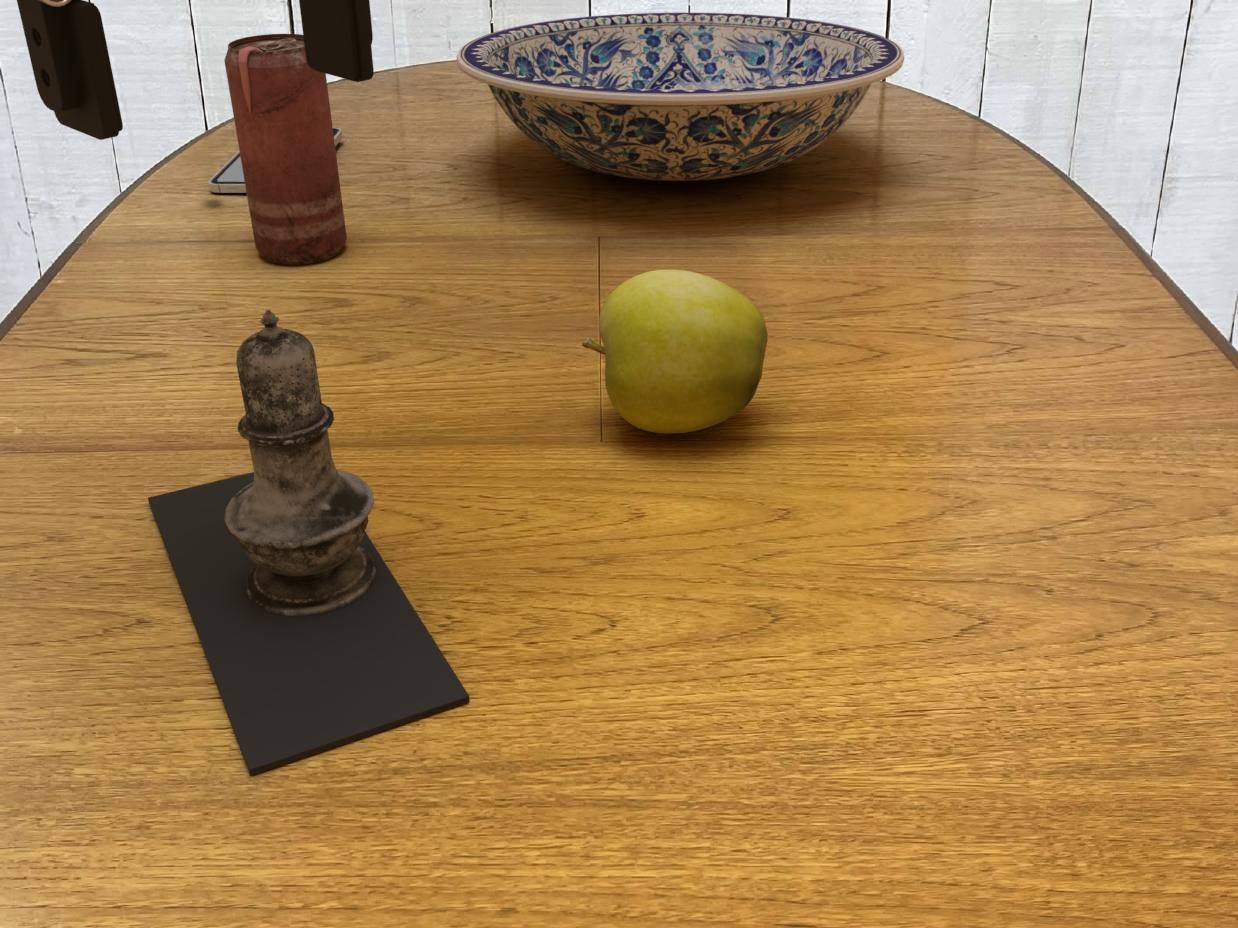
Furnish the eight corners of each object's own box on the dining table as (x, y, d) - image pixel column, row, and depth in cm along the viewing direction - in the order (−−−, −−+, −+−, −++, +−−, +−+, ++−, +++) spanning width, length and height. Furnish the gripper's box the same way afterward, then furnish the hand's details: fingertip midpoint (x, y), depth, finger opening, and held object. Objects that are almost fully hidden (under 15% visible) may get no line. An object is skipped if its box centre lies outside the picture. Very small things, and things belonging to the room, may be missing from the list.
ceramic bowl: (858, 111, 116) (868, -3, 111) (930, 240, 87) (948, 93, 82) (489, 113, 117) (482, 0, 112) (436, 242, 88) (423, 97, 82)
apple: (585, 390, 67) (581, 249, 63) (755, 389, 67) (762, 247, 63) (581, 463, 61) (576, 310, 57) (769, 462, 61) (778, 308, 57)
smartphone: (203, 184, 97) (261, 127, 110) (206, 196, 97) (263, 138, 110) (297, 184, 96) (344, 127, 109) (299, 196, 97) (346, 138, 110)
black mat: (250, 776, 43) (248, 769, 42) (148, 502, 58) (147, 497, 58) (470, 702, 46) (469, 695, 46) (318, 461, 61) (317, 455, 61)
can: (239, 264, 84) (201, 49, 77) (282, 232, 90) (251, 29, 83) (322, 271, 83) (291, 53, 76) (361, 238, 88) (336, 32, 81)
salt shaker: (231, 554, 54) (179, 293, 48) (368, 527, 55) (334, 271, 49) (247, 634, 49) (191, 354, 43) (396, 601, 51) (362, 327, 45)
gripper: (308, -490, 42) (361, 42, 50) (-282, -567, 31) (-84, 131, 39) (458, -514, 37) (487, 74, 46) (-168, -612, 26) (27, 184, 35)
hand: (224, 100), depth 43 cm, fingers open, 9 cm apart
